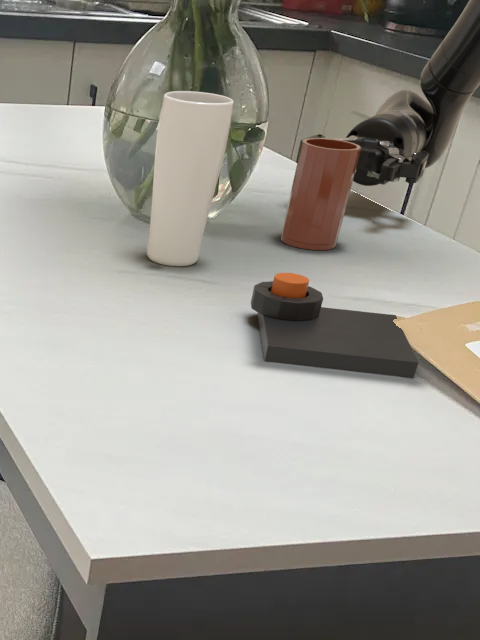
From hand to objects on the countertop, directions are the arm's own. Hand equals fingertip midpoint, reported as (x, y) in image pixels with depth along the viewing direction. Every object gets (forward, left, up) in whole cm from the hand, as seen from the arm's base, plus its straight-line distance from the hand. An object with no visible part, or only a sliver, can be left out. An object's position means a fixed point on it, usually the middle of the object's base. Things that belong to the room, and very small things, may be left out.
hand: (345, 167), depth 121 cm
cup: (+3, +8, -6) cm, 11 cm away
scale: (+4, +42, -6) cm, 43 cm away
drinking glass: (+18, +21, -7) cm, 29 cm away
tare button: (+8, +38, -4) cm, 39 cm away
